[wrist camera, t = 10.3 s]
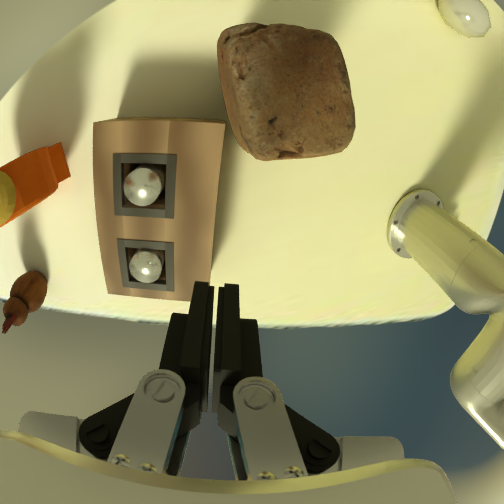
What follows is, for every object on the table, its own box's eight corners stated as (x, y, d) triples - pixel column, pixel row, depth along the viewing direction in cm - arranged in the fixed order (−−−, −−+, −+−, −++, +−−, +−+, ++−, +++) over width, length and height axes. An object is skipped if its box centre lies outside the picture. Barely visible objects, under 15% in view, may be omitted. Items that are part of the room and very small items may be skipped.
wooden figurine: (45, 266, 37) (4, 323, 24) (55, 292, 40) (21, 351, 27) (21, 265, 37) (-19, 318, 24) (31, 290, 40) (-3, 344, 27)
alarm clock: (22, 202, 31) (-57, 270, 14) (11, 168, 28) (-76, 223, 11) (80, 176, 31) (-13, 247, 14) (68, 136, 28) (-37, 181, 11)
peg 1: (172, 157, 31) (160, 170, 25) (170, 187, 33) (159, 207, 27) (141, 156, 31) (123, 169, 25) (141, 186, 33) (124, 205, 27)
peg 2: (169, 229, 36) (160, 256, 30) (169, 255, 38) (161, 284, 32) (142, 227, 36) (127, 253, 30) (143, 252, 37) (130, 281, 31)
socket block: (225, 121, 30) (225, 124, 24) (210, 272, 41) (208, 303, 35) (116, 118, 28) (93, 122, 22) (121, 265, 39) (107, 293, 33)
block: (291, 129, 32) (369, 161, 14) (232, 140, 32) (244, 182, 15) (275, 49, 26) (339, -9, 9) (214, 59, 26) (203, -1, 9)
